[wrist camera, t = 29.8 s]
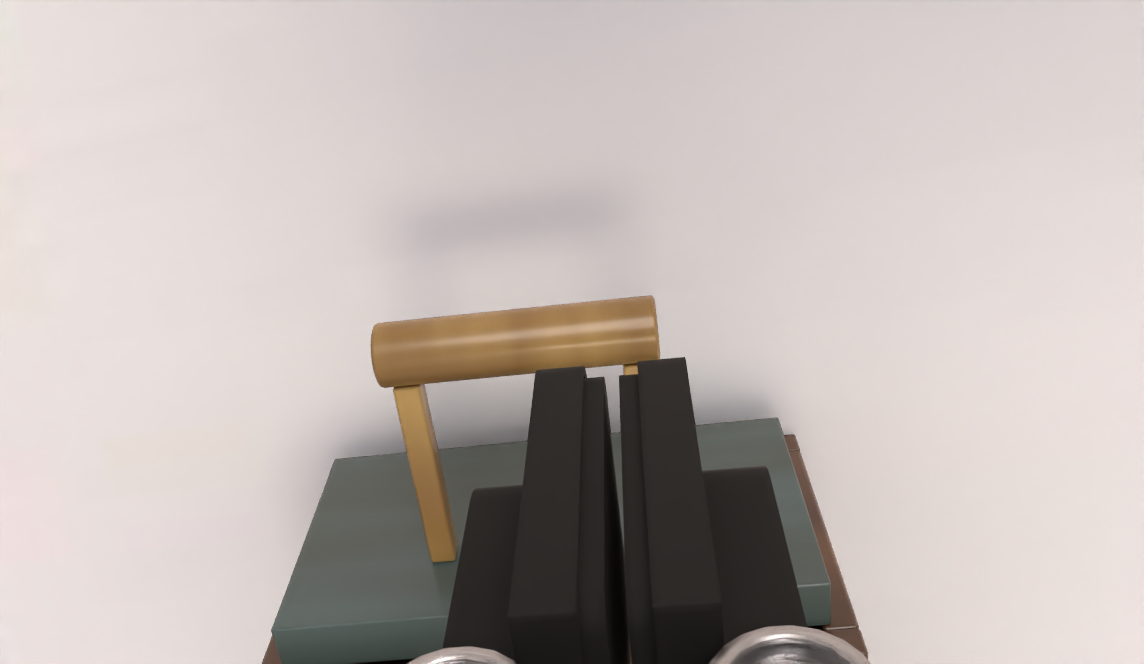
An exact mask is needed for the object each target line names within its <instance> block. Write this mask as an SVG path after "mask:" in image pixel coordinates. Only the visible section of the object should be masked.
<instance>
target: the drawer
mask: <svg viewBox="0 0 1144 664" xmlns="http://www.w3.org/2000/svg"><path fill="white" fill-rule="evenodd" d="M371 359H372V365H373V370H374V374H375V377H376V379H377V382H378V384H379V385H380V386H381V387H384V388H388V387H394V389H393V393H394V398H395V402H396V407H397V411H398V416H399V420H400V424H401V429H402V433H403V438H404V442H405V447H406V451H407V452H406V453H395V454H384V455H374V456H363V457H352V458H342V459H335V461H334V463H333V466H332V469H331V471H330V474H329V477H328V479H327V482H326V485H325V487H324V490H323V493H322V496H321V498H320V501H319V504H318V506H317V509H316V512H315V514H314V517H313V520H312V522H311V525H310V528H309V531H308V533H307V536H306V539H305V541H304V544H303V547H302V549H301V552H300V555H299V557H298V560H297V563H296V565H295V568H294V571H293V574H292V576H291V579H290V582H289V584H288V587H287V590H286V592H285V595H284V598H283V600H282V603H281V606H280V608H279V611H278V614H277V617H276V619H275V622H274V625H273V627H272V630H271V631H272V634H273V637H274V641H275V644H276V647H277V650H278V653H279V656H280V659H281V662H282V664H407V663H409V662H410V661H412V660H414V659H416V658H418V657H420V656H421V655H425V654H428V653H431V652H435V651H438V650H441V649H442V648H443V642H444V637H445V632H446V626H447V621H448V616H449V610H450V605H451V600H452V594H453V589H454V584H455V578H456V573H457V567H458V562H459V557H460V551H461V546H462V541H463V535H464V530H465V525H466V519H467V514H468V509H469V503H470V499H471V495H472V492H473V490H474V489H476V488H487V487H500V486H512V485H523V478H524V469H525V460H526V452H527V443H528V441H523V442H512V443H502V444H491V445H480V446H470V447H459V448H448V449H438V447H437V442H436V438H435V433H434V428H433V423H432V418H431V414H430V409H429V404H428V399H427V394H426V390H425V385H424V384H428V383H439V382H449V381H459V380H469V379H480V378H490V377H500V376H510V375H521V374H531V373H536V370H542V369H554V368H566V367H577V366H584V367H585V368H592V367H602V366H613V365H623V372H624V375H632V374H638V368H637V361H647V360H659V359H660V348H659V337H658V326H657V317H656V308H655V301H654V298H653V296H650V295H649V296H639V297H630V298H620V299H610V300H600V301H590V302H580V303H571V304H561V305H551V306H541V307H531V308H521V309H511V310H502V311H492V312H482V313H472V314H462V315H452V316H442V317H433V318H423V319H413V320H403V321H393V322H383V323H377V324H376V325H374V327H373V330H372V335H371ZM695 426H696V433H697V440H698V447H699V453H700V460H701V467H702V471H706V470H719V469H732V468H745V467H758V466H766V467H767V468H768V471H769V474H770V478H771V482H772V486H773V490H774V494H775V498H776V502H777V506H778V510H779V514H780V518H781V522H782V526H783V530H784V534H785V538H786V542H787V546H788V550H789V554H790V558H791V562H792V566H793V570H794V574H795V579H796V583H797V587H798V591H799V595H800V599H801V603H802V607H803V611H804V615H805V619H806V623H807V626H819V625H830V624H831V582H830V579H829V576H828V573H827V570H826V567H825V564H824V560H823V557H822V554H821V551H820V548H819V545H818V542H817V538H816V535H815V532H814V529H813V526H812V523H811V520H810V517H809V513H808V510H807V507H806V504H805V501H804V498H803V495H802V491H801V488H800V485H799V482H798V479H797V476H796V473H795V469H794V466H793V463H792V460H791V457H790V454H789V451H788V448H787V444H786V441H785V438H784V435H783V432H782V429H781V426H780V422H779V419H778V418H768V419H757V420H747V421H736V422H725V423H715V424H704V425H695ZM611 438H612V447H613V456H614V465H615V474H616V483H617V492H618V501H619V510H620V518H621V527H622V536H623V545H624V521H623V488H622V455H621V432H619V433H611ZM629 640H630V639H629Z"/></svg>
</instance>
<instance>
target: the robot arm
mask: <svg viewBox="0 0 1144 664" xmlns="http://www.w3.org/2000/svg"><path fill="white" fill-rule="evenodd" d="M637 368H638V374H632V375H620V376H619V388H620V422H621V455H622V488H623V521H624V545H623V536H622V527H621V518H620V510H619V501H618V492H617V483H616V474H615V465H614V456H613V447H612V438H611V429H610V420H609V412H608V403H607V394H606V385H605V379H604V377H597V378H587V376H586V371H585V367H584V366H577V367H566V368H554V369H542V370H536V374H535V382H534V390H533V399H532V408H531V417H530V425H529V434H528V443H527V452H526V460H525V469H524V478H523V485H512V486H500V487H487V488H476V489H474V490H473V492H472V495H471V499H470V503H469V509H468V514H467V519H466V525H465V530H464V535H463V541H462V546H461V551H460V557H459V562H458V567H457V573H456V578H455V584H454V589H453V594H452V600H451V605H450V610H449V616H448V621H447V626H446V632H445V637H444V642H443V648H442V649H441V650H438V651H435V652H431V653H428V654H425V655H421V656H420V657H418V658H416V659H414V660H412V661H410V662H409V663H407V664H630V648H631V657H632V664H870V662H869V661H868V660H867V658H866V657H865V656H864V654H863V653H861V652H860V651H858V650H857V649H856V648H854V647H853V646H852V645H850V644H849V643H847V642H846V641H845V640H843V639H841V638H839V637H836V636H834V635H831V634H829V633H826V632H824V631H821V630H819V629H813V628H808V627H807V623H806V619H805V615H804V611H803V607H802V603H801V599H800V595H799V591H798V587H797V583H796V579H795V574H794V570H793V566H792V562H791V558H790V554H789V550H788V546H787V542H786V538H785V534H784V530H783V526H782V522H781V518H780V514H779V510H778V506H777V502H776V498H775V494H774V490H773V486H772V482H771V478H770V474H769V471H768V468H767V467H766V466H758V467H745V468H732V469H719V470H706V471H702V467H701V460H700V453H699V447H698V440H697V433H696V426H695V420H694V413H693V406H692V400H691V393H690V386H689V379H688V373H687V366H686V360H685V357H683V358H671V359H659V360H647V361H637ZM629 639H630V640H629Z"/></svg>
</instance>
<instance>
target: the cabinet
mask: <svg viewBox="0 0 1144 664" xmlns="http://www.w3.org/2000/svg"><path fill="white" fill-rule="evenodd" d="M784 438H785V441H786V444H787V448H788V451H789V454H790V457H791V460H792V463H793V466H794V469H795V473H796V476H797V479H798V482H799V485H800V488H801V491H802V495H803V498H804V501H805V504H806V507H807V510H808V513H809V517H810V520H811V523H812V526H813V529H814V532H815V535H816V538H817V542H818V545H819V548H820V551H821V554H822V557H823V560H824V564H825V567H826V570H827V573H828V576H829V579H830V582H831V624H830V625H819V626H807V627H808V628H813V629H819V630H821V631H824V632H826V633H829V634H831V635H834V636H836V637H839V638H841V639H843V640H845V641H846V642H847V643H849V644H850V645H852V646H853V647H854V648H856V649H857V650H858V651H860V652H861V653H863V654H864V656H865V657H866V658H867V660H868V652H867V649H866V646H865V643H864V640H863V637H862V634H861V631H860V630H859V625H858V622H857V619H856V616H855V613H854V610H853V608H852V605H851V602H850V599H849V596H848V593H847V590H846V587H845V584H844V581H843V578H842V575H841V572H840V569H839V566H838V563H837V560H836V557H835V554H834V551H833V548H832V545H831V542H830V539H829V536H828V533H827V530H826V527H825V524H824V521H823V518H822V515H821V512H820V509H819V506H818V503H817V500H816V497H815V494H814V492H813V489H812V486H811V483H810V480H809V477H808V474H807V471H806V468H805V465H804V462H803V459H802V456H801V453H800V449H799V446H798V443H797V440H796V437H795V435H784ZM262 664H282V662H281V659H280V656H279V653H278V650H277V647H276V644H275V641H274V637H273V635H272V638H271V640H270V643H269V646H268V648H267V651H266V654H265V657H264V659H263V662H262ZM630 664H632V657H631V648H630Z"/></svg>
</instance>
